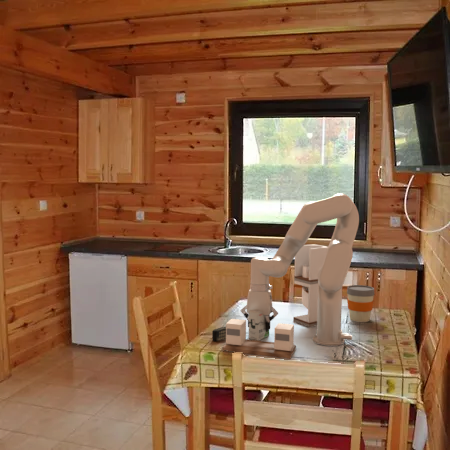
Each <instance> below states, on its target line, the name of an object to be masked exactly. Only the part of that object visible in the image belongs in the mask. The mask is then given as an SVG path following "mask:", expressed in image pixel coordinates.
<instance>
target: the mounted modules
mask: <svg viewBox="0 0 450 450" xmlns="http://www.w3.org/2000/svg"><path fill="white" fill-rule="evenodd" d="M225 327H226V339H225V344H233V345H242V344H243V342H244V341H245V340H246V338H247V319H237V318H231V319H229V320H228V321H227V322H226V323H225ZM294 334H295V325H294V324H290V323H280V322H278V324H276V325H275V327H274V339H273V340H274V349H277V350H286V351H290V350H291V349H292V347H293V345H295V344H294V343H295V341H294V339H295V337H294V336H295V335H294Z"/></svg>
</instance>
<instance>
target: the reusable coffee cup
mask: <svg viewBox="0 0 450 450" xmlns="http://www.w3.org/2000/svg"><path fill="white" fill-rule="evenodd" d="M346 294H347V308H348V312H349V320H350V321H353V322H358V323H366V322H369V321H370V320H371V319H370V318H371V313H372V311H373V308H374V302H375V301H374V297H375V296H376V295H375V294H376V293H375V288H374V287H373V286H370V285H365V284H364V285H363V284H353V285H348V286H347V289H346Z"/></svg>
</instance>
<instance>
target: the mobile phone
mask: <svg viewBox="0 0 450 450" xmlns="http://www.w3.org/2000/svg"><path fill="white" fill-rule="evenodd" d="M211 331H212V333H211V334H212V335H211V336H212V337H211V339H212V341H213V342H220V341H224V339H225V340H226V326H222V327H217V328H215V329H213V330H211ZM219 340H220V341H219Z"/></svg>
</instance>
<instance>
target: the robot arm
mask: <svg viewBox="0 0 450 450" xmlns="http://www.w3.org/2000/svg"><path fill="white" fill-rule="evenodd" d="M335 219H336V223H335V227H334V230H333V233H332V236H331V239H330V241H329V244H328V246H327V247H328V248H327V255H326V258H325V261H324V264H323V266H322V267H321V269H320V270H319V273H318V309H317V326H316V334H315V335H314V336H312V341H313V342H314V343H315V344H317V345H321V346H326V347H336V346H342V345H343V344H345V340H348V341H352V340H353V335H352V334H350V333H344V332H343V329H342V309H343V308H342V307H343V306H342V305H343V285H344V283H345V281H346V278H347V276H348V272H349V270H350V266H351V263H352V259H353V256H354V252H353V245H354V242H355V239H356V236H357V232H358V229H359V223H360V215H359V211H358V208H357V206H356V204H355V203H354V202H353V200H352V199H351V198H350V197H349V196H348V195H347V194H345V193H342V192H340V193H335V194H333V195H332V196H330V197H327V198H324V199H320V200H317V201H309V202H306V203H304V204H303V206H302V207H301V210H300V211H299V212H298V213H297V215H296V217H295V219H294V221H293V222H292V224H291V225H290V227H289V228H288V231H286V234H285V236H284V239H283V241H282V243H281V244H280V246H279V247H278V249H277V251H276V252H275V254H274V256H273V257H272V258H271V259H269V258H267V257H264V256H255V257H252V258H251V260H250V289H249V290H248V294H247V299H246V305H244V307H243V308H242V309H240V312H241V314H242V315H243V317H244V318H245V319H246V321H247V328H249V311H250V310H252V311H262V315H263V316H265V317H266V320H267V322H266V332H268V331H269V332H270V330H271V321H273V320H274V319H275V318H276V317H277V315H279V312H278V311H277V310H276V309H275V308H274V307H273V297H272V291H271V289H273V285H270V277H272V278H282V277H284V276H285V275H286V274H288V273H287V272H288V269H289V267H290V265H291V263H292V262H293V260H295V255H296V254H297V252H298V251H299V250H300V249H301V248H302V247H303V246H304V245H306V243H307V242H308V240H309V238H310V237H311V235H312V234H313V232H314V230H315V228H316V227H317V225H318V224H321V223H325V222H326V223H327V222H329V221H332V220H335ZM271 313H272V315H271Z"/></svg>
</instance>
